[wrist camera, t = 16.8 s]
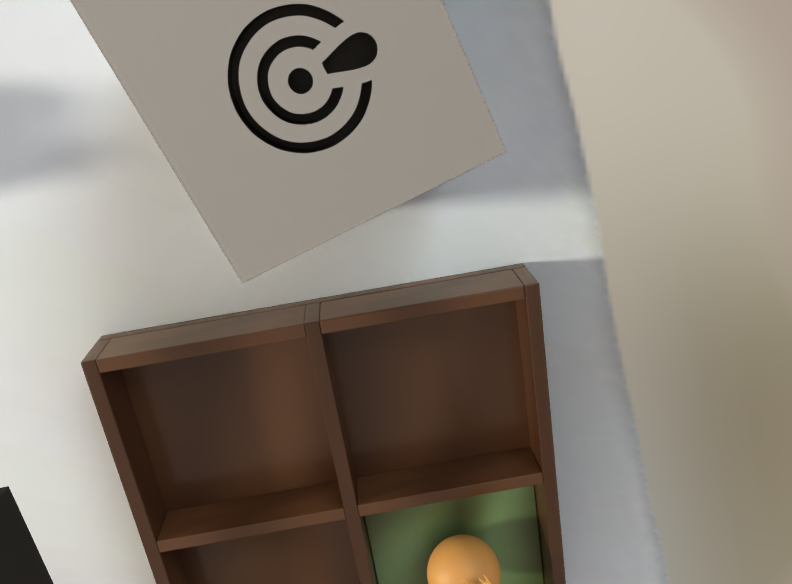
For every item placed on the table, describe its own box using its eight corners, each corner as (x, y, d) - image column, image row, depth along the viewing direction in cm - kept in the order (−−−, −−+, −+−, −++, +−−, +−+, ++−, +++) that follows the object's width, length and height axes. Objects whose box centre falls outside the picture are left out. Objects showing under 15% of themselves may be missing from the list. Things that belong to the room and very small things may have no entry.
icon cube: (359, -101, 30) (371, -165, 20) (457, 118, 33) (506, 151, 24) (151, 11, 30) (70, 0, 21) (267, 214, 34) (242, 283, 24)
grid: (522, 262, 36) (539, 282, 33) (554, 593, 43) (570, 633, 40) (101, 335, 35) (79, 362, 32) (206, 657, 43) (196, 702, 40)
